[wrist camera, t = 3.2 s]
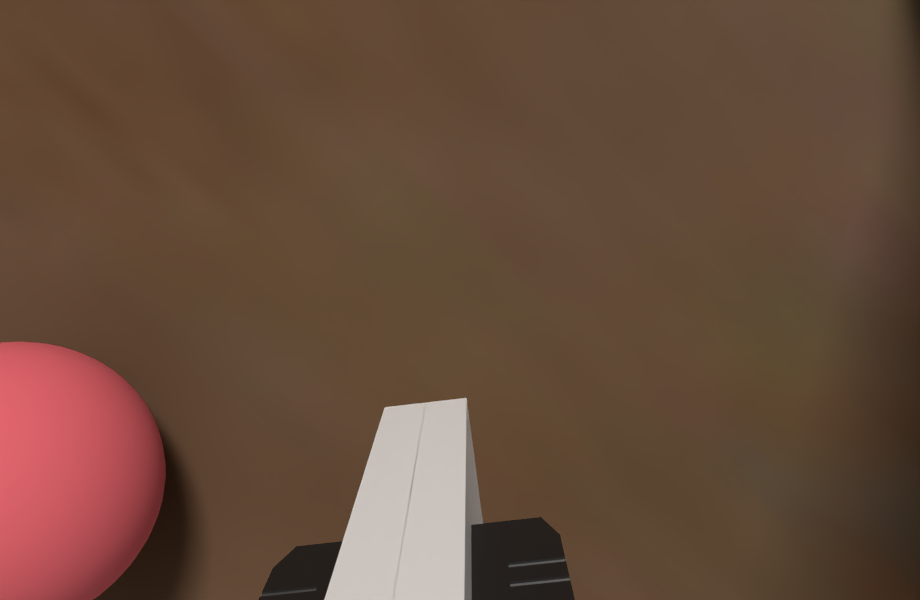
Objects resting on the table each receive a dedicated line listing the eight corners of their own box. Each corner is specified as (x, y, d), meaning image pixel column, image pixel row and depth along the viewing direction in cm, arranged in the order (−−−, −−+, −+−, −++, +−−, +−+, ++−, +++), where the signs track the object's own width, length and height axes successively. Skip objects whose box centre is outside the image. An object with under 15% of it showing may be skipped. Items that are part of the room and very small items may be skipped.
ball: (178, 299, 18) (34, 377, 12) (224, 525, 19) (114, 693, 14) (-60, 328, 18) (-311, 417, 13) (1, 548, 20) (-202, 723, 14)
